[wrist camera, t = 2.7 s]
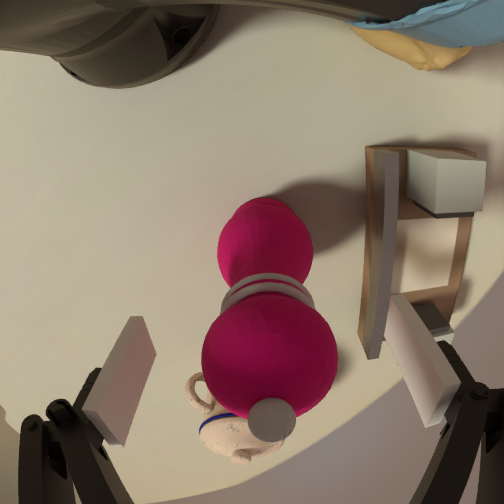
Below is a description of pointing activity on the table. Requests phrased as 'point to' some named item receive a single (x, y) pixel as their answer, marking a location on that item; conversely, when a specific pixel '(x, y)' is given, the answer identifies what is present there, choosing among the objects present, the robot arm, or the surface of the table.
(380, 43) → the sculpture
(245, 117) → the table surface
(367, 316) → the steel rail bar
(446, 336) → the finger block
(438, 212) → the block
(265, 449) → the teacup with lid
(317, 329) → the pepper mill
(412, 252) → the wooden frame tray
